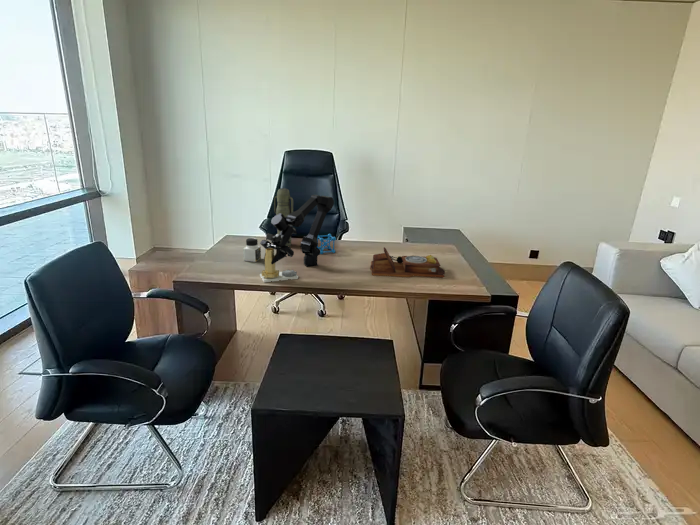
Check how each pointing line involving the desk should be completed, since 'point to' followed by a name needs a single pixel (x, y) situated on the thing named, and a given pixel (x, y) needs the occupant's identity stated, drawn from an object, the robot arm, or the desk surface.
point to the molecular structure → (326, 243)
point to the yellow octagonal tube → (269, 264)
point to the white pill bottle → (252, 250)
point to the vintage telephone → (405, 266)
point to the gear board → (281, 276)
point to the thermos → (283, 205)
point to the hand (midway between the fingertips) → (267, 262)
